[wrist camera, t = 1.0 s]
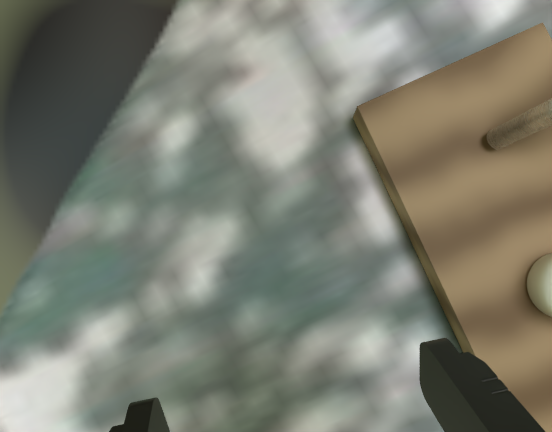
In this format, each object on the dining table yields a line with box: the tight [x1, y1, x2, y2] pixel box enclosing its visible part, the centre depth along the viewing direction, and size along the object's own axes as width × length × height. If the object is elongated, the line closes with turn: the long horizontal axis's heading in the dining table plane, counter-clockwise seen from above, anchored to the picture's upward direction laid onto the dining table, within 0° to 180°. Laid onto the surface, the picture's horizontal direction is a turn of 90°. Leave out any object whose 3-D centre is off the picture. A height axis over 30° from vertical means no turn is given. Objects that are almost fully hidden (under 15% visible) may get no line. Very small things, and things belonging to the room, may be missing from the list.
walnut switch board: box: [353, 23, 552, 432], centre depth 32 cm, size 38×16×3 cm, turn 24°
